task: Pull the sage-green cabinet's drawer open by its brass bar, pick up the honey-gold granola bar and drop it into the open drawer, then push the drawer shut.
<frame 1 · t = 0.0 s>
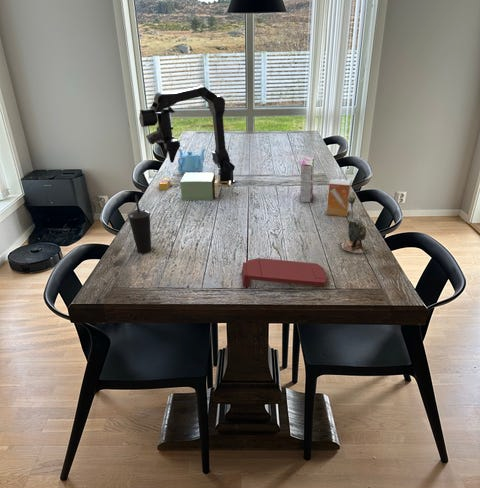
hand: (168, 160, 204), 15 cm above the table, tool pointing down, fingers open, 9 cm apart
small box: (337, 213, 183), on the table
drawer: (210, 185, 204), point 4 cm above the table, slide at 1.0 cm
plant with pod: (353, 250, 154), on the table
drinking cup: (144, 250, 158), on the table
red flat block: (283, 279, 138), on the table
cabinet: (199, 194, 207), on the table
candy bar box: (306, 198, 199), on the table
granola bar: (165, 187, 218), on the table
teapot: (192, 170, 241), on the table
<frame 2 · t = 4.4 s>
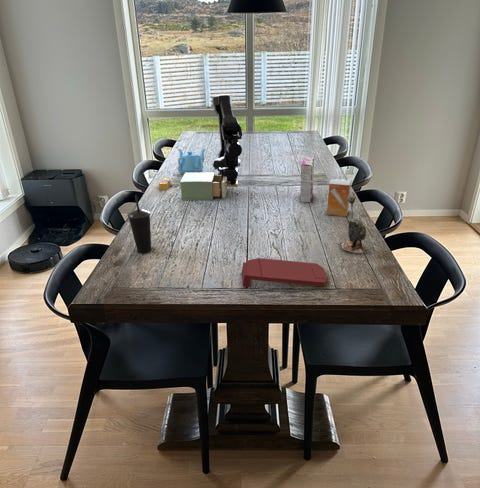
hand: (232, 186, 204), 4 cm above the table, tool pointing down, fingers closed, pressing on drawer
drawer: (217, 185, 204), point 4 cm above the table, slide at 4.2 cm, touching gripper
everything else where it was.
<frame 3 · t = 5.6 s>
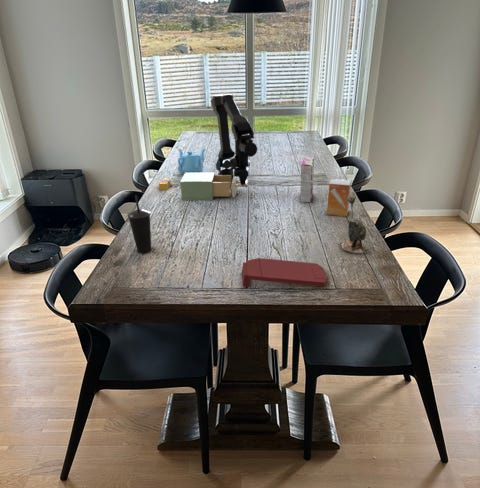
hand: (242, 186, 204), 4 cm above the table, tool pointing down, fingers closed, pressing on drawer
drawer: (227, 185, 204), point 4 cm above the table, slide at 8.7 cm, touching gripper
everything else where it was.
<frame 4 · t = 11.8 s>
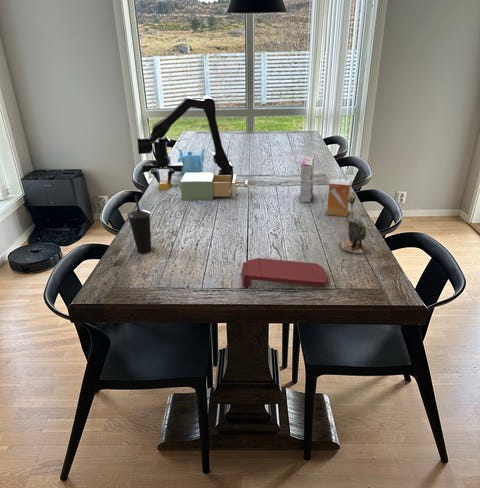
hand: (164, 185, 217), 1 cm above the table, tool pointing down, fingers closed on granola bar, 4 cm apart
drawer: (227, 185, 204), point 4 cm above the table, slide at 8.7 cm
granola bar: (165, 187, 218), on the table, touching gripper
everything else where it was.
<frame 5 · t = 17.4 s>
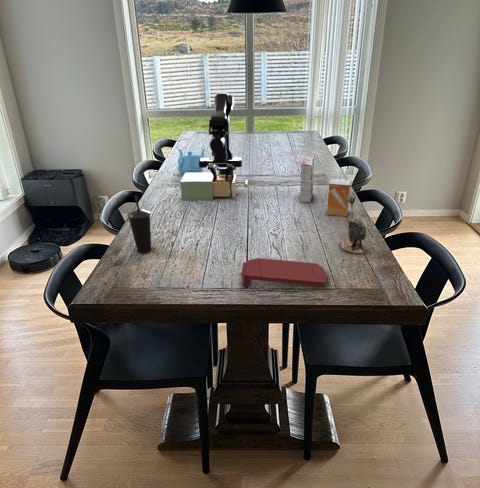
hand: (221, 181, 203), 6 cm above the table, tool pointing down, fingers closed on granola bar, 4 cm apart
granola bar: (221, 183, 203), point 5 cm above the table, touching gripper
everything else where it was.
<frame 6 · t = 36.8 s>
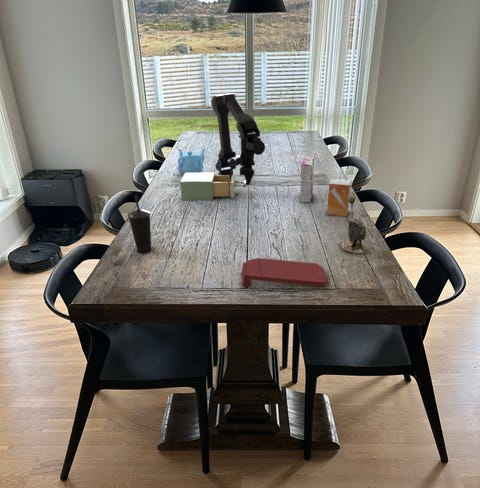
hand: (248, 185, 203), 4 cm above the table, tool pointing down, fingers closed, pressing on drawer
drawer: (226, 185, 204), point 4 cm above the table, slide at 8.0 cm, touching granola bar, gripper
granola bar: (220, 190, 205), point 2 cm above the table, touching drawer
everything else where it was.
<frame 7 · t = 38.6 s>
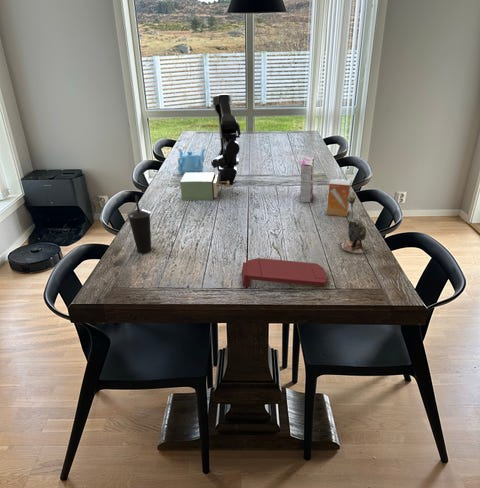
hand: (231, 185, 204), 4 cm above the table, tool pointing down, fingers closed, pressing on drawer
drawer: (209, 185, 204), point 4 cm above the table, slide at 0.5 cm, touching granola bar, gripper
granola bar: (203, 190, 205), point 2 cm above the table, touching drawer
everything else where it was.
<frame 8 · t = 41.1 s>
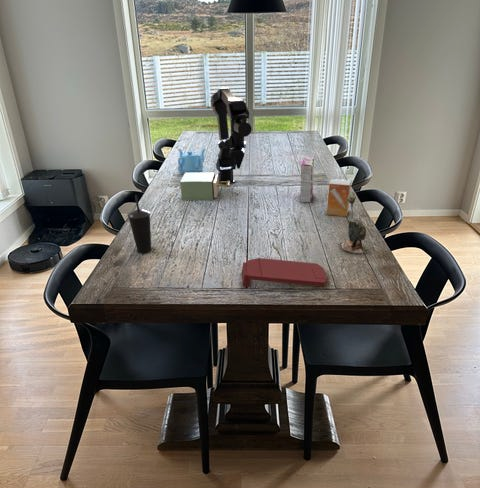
hand: (238, 168, 199), 12 cm above the table, tool pointing down, fingers closed
drawer: (209, 185, 204), point 4 cm above the table, slide at 0.5 cm, touching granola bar
everything else where it was.
at the end: drawer pulled out 8.7 cm at the most during the clip, back to 0.5 cm at the end; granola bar inside the target area in the cabinet (1.6 cm from its centre), point 1.9 cm above the cabinet's base; drawer slide at 0.5 cm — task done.
